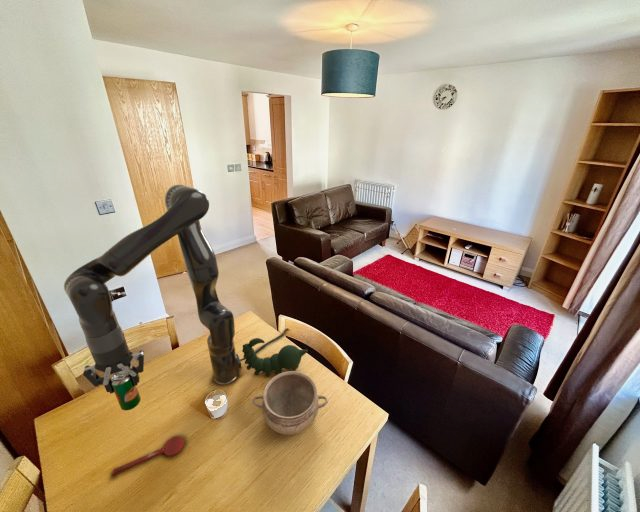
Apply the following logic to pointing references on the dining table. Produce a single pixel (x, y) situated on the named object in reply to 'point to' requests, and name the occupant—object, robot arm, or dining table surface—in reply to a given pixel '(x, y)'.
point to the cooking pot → (290, 402)
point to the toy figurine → (272, 358)
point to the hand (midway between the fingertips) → (124, 386)
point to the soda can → (125, 390)
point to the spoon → (156, 453)
